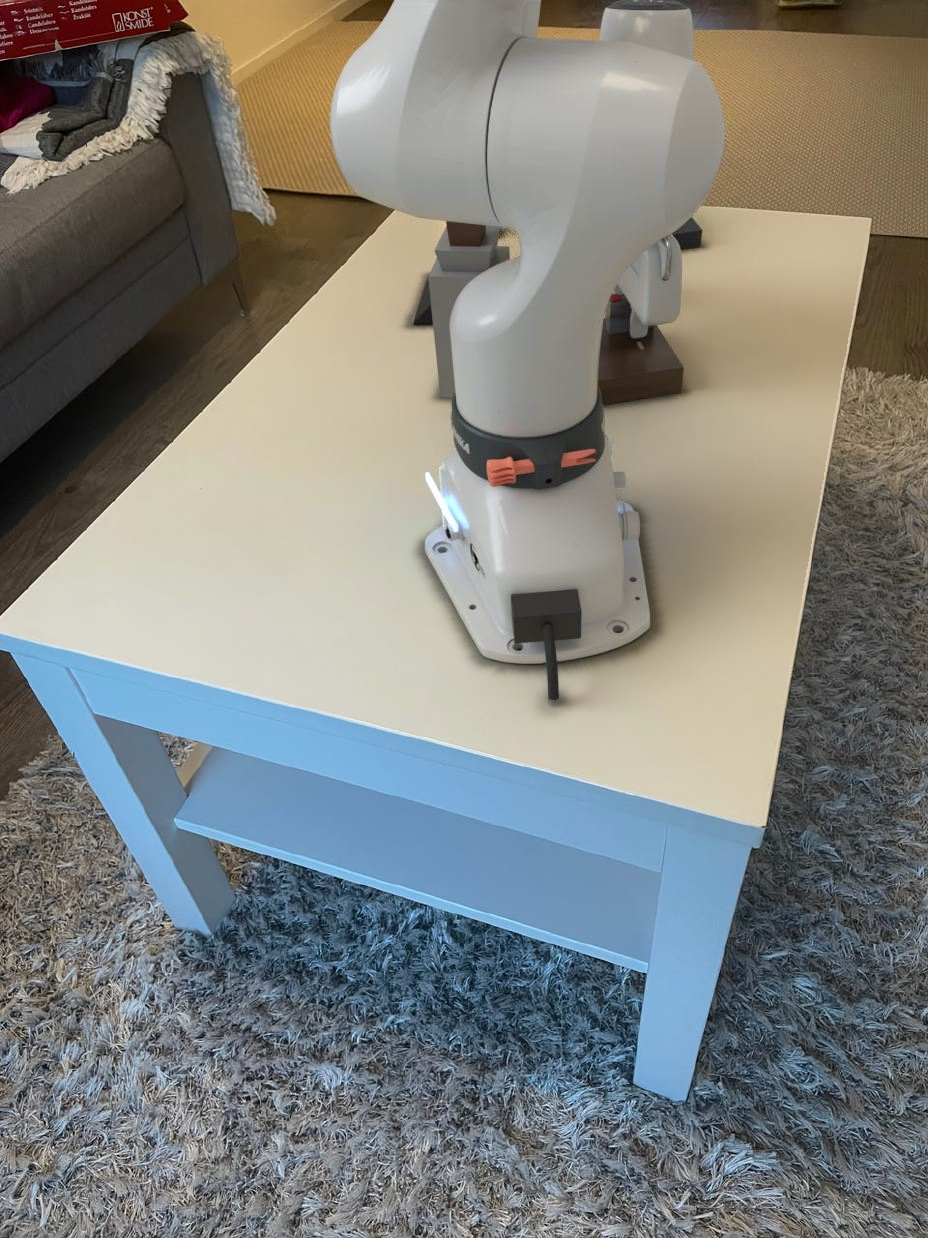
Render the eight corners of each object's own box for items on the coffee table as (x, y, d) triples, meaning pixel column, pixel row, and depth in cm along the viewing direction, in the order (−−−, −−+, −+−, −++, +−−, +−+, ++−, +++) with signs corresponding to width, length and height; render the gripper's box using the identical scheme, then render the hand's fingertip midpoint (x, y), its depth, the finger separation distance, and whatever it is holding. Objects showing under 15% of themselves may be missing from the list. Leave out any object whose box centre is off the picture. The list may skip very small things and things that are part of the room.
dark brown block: (696, 390, 100) (699, 363, 97) (587, 407, 99) (588, 380, 96) (655, 326, 109) (657, 300, 107) (555, 342, 108) (555, 316, 106)
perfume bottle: (503, 400, 101) (495, 231, 88) (440, 397, 102) (423, 229, 89) (513, 366, 105) (507, 200, 92) (453, 363, 107) (439, 199, 94)
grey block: (649, 320, 104) (652, 287, 101) (654, 327, 103) (657, 294, 100) (605, 327, 104) (606, 294, 101) (609, 335, 103) (610, 301, 100)
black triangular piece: (472, 326, 112) (469, 289, 109) (410, 326, 113) (406, 289, 110) (484, 275, 121) (481, 239, 117) (426, 275, 122) (422, 240, 118)
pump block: (700, 246, 122) (704, 215, 119) (624, 258, 121) (625, 226, 118) (670, 209, 130) (672, 178, 127) (598, 219, 130) (599, 189, 127)
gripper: (705, 230, 86) (690, 367, 96) (638, 149, 100) (630, 276, 110) (637, 240, 85) (629, 377, 95) (579, 157, 100) (577, 284, 110)
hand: (629, 322), depth 103 cm, fingers open, 4 cm apart
